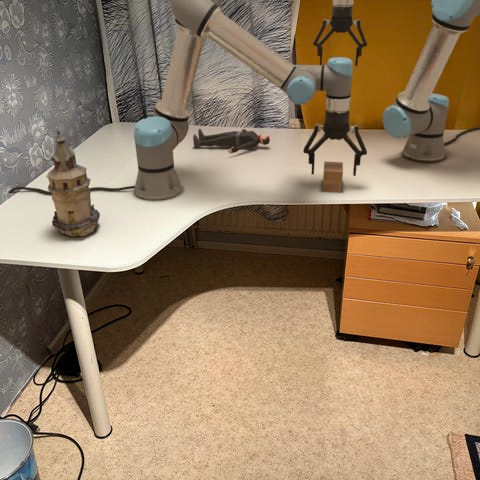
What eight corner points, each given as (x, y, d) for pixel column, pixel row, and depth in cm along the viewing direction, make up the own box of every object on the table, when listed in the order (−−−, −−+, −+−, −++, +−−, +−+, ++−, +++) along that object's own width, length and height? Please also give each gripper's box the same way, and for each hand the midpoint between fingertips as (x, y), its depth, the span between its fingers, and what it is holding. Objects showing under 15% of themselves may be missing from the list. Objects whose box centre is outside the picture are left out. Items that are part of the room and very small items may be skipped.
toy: (204, 122, 226) (274, 122, 220) (205, 136, 229) (274, 137, 223) (186, 142, 204) (264, 143, 198) (188, 157, 207) (264, 159, 201)
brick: (341, 192, 175) (343, 171, 172) (322, 191, 176) (323, 171, 173) (341, 181, 183) (342, 162, 179) (323, 180, 184) (324, 161, 180)
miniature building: (80, 214, 164) (63, 117, 149) (111, 225, 157) (96, 125, 142) (44, 231, 154) (22, 130, 140) (75, 244, 147) (55, 139, 133)
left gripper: (377, 107, 168) (371, 170, 179) (298, 106, 172) (296, 168, 182) (379, 114, 162) (372, 179, 172) (296, 112, 165) (294, 176, 176)
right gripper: (376, 4, 199) (370, 63, 209) (309, 4, 202) (306, 62, 213) (378, 6, 192) (371, 67, 203) (308, 6, 196) (305, 66, 206)
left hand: (333, 173), depth 177 cm, fingers open, 13 cm apart
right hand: (338, 65), depth 208 cm, fingers open, 13 cm apart
